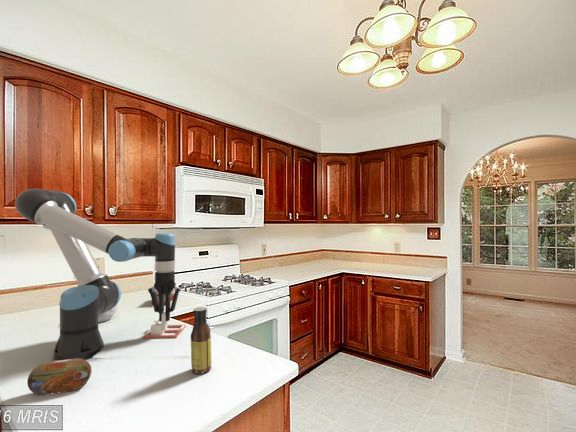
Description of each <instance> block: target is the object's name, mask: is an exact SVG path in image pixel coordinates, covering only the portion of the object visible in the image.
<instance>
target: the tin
mask: <svg viewBox="0 0 576 432" xmlns="http://www.w3.org/2000/svg"><path fill="white" fill-rule="evenodd" d="M92 373H93V371H92V365H91V364H90V362H88V361H87V359H81V358H76V359H67V360H59V361H55V360H51V361H46V362H42V363H41V364H39V365H38V366H36V367H34V368H33V369H32V371H31V372H30V373H29V375H28V377H27V380H26V381H27V386H28V387H27V388H28V389H29V390H30V392H31V393H33V394H34V395H38V396H47V394H49V395H52V394H51V393H55V394H59V393H58V392H63V393H66V392H65V391H70V392H74V391H73V390H76V391H78V390H81V389H82V388H83V387H84V386H85V385H87V383H88V381H89V380H90V379H91V375H92Z"/></svg>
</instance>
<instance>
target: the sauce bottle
mask: <svg viewBox="0 0 576 432" xmlns="http://www.w3.org/2000/svg"><path fill="white" fill-rule="evenodd" d="M207 311H208V310H207V308H206V307H205V306H204V307H203V306H200V307H196V308H193V318H194V319H193V326H192V329H191V330H192V331H191V333H190V359H191V361H190V363H191V364H190V365H191V370H192V373H194V372H197V373H202V372H206V373H208V372H210V371H211V370H212V336H211V328H210V326H209V324H208V323H207ZM209 370H210V371H209ZM207 371H208V372H207Z"/></svg>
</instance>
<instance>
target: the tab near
mask: <svg viewBox="0 0 576 432" xmlns="http://www.w3.org/2000/svg"><path fill="white" fill-rule="evenodd" d="M161 328H162V322H160V321H158V322H155V323H154V322H153V323H152V324H151V325H150V330H151V334H150V335H165V333H164V330H161Z"/></svg>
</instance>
